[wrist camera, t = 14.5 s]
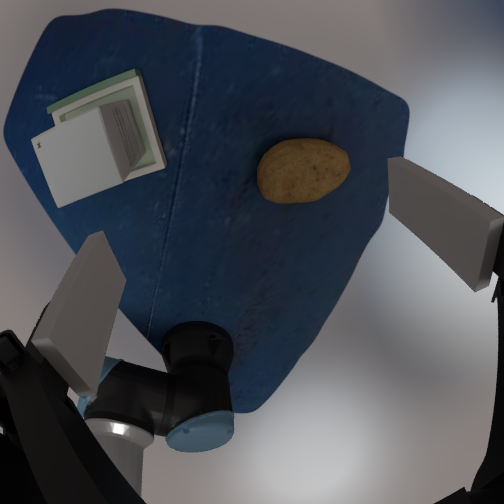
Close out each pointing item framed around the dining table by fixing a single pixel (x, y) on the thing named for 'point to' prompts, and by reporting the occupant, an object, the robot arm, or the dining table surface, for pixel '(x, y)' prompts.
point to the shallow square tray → (112, 91)
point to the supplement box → (90, 151)
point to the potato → (301, 170)
